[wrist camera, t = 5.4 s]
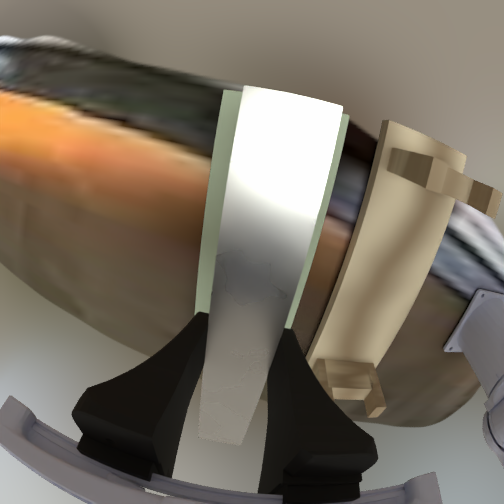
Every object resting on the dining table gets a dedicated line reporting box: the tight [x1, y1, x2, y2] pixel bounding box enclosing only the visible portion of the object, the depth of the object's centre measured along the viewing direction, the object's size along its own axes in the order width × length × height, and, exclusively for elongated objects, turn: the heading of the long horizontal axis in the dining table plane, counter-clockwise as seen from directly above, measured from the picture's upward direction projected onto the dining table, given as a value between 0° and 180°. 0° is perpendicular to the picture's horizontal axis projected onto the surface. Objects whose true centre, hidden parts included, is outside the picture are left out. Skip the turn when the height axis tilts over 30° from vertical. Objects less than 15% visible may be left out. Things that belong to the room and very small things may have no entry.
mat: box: [195, 90, 349, 329], centre depth 20 cm, size 8×22×1 cm, turn 170°
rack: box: [306, 120, 502, 417], centre depth 17 cm, size 7×23×6 cm, turn 170°
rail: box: [198, 85, 343, 445], centre depth 13 cm, size 20×3×3 cm, turn 170°
